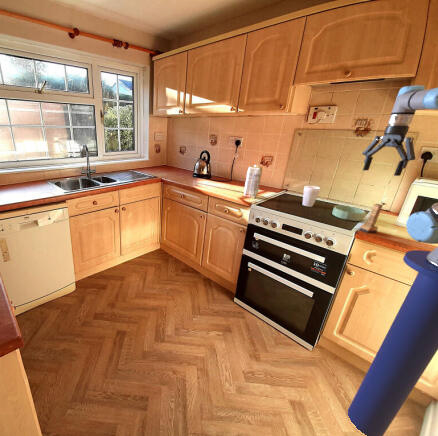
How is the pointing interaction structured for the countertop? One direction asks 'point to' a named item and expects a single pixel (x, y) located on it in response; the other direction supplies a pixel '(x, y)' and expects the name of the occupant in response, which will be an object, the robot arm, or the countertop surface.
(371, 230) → the dish brush
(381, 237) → the countertop surface
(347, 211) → the bowl
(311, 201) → the foam cup
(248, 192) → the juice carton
